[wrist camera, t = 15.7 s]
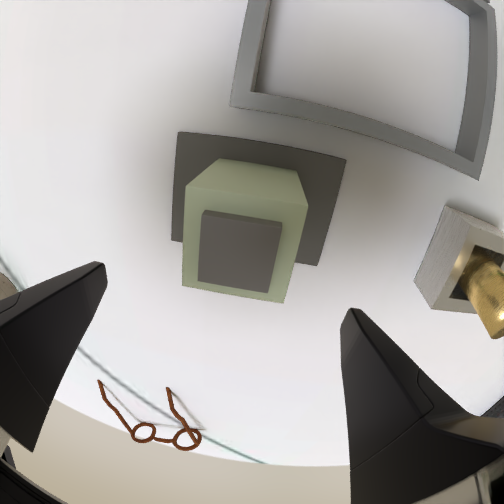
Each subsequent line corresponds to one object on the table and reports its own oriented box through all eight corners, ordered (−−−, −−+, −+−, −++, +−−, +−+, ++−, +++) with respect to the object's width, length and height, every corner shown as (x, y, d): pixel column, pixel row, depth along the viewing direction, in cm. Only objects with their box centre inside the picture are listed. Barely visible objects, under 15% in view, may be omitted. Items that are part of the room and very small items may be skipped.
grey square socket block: (494, 225, 17) (518, 245, 14) (464, 289, 20) (482, 314, 17) (444, 205, 17) (471, 225, 14) (413, 281, 20) (430, 309, 17)
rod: (480, 233, 17) (532, 294, 10) (473, 267, 19) (515, 330, 12) (448, 239, 17) (500, 308, 11) (443, 275, 19) (483, 345, 13)
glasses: (138, 420, 39) (130, 442, 35) (98, 377, 33) (85, 402, 29) (205, 428, 37) (199, 454, 32) (170, 384, 31) (160, 416, 27)
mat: (345, 159, 16) (346, 160, 16) (316, 264, 20) (317, 266, 20) (179, 131, 16) (177, 132, 16) (172, 238, 20) (171, 240, 20)
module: (296, 170, 17) (310, 210, 10) (282, 240, 19) (283, 311, 13) (219, 158, 17) (181, 190, 10) (211, 228, 19) (178, 292, 13)
